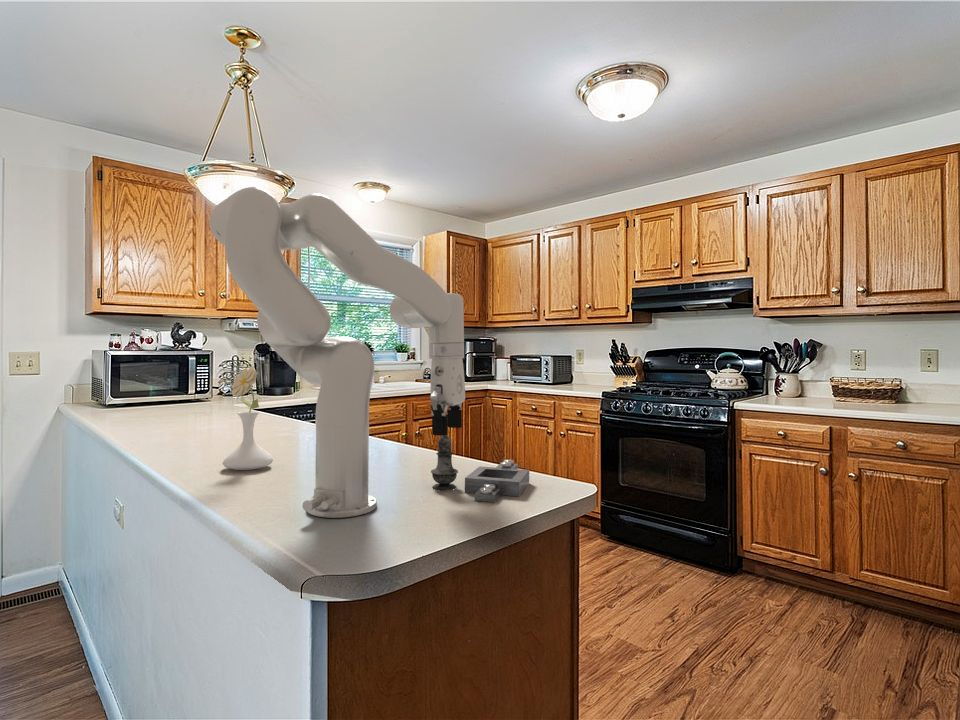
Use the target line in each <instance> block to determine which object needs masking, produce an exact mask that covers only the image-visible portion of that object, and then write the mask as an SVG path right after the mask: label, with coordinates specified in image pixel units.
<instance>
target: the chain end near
mask: <svg viewBox="0 0 960 720" xmlns="http://www.w3.org/2000/svg"><path fill="white" fill-rule="evenodd" d="M485 477H491V478H505V479H512V477H498V476H485ZM529 484H530V477H529V478H528V479H527V480H526V482H525V483H524V484H523V485H522V487H521V488H520V489H508V488H495V486H496V485H494V484H485V485H484V487H483V486H471V485H465V484H464V493H468V492H473V493H472V494H474V501H475V502H482V501H487V502H486V503H493V502H495V501H496V502H497V501H498V500H499V498H501V497H502V496H503V495H508V496H507V497H515V496H519V497H520V496H521V495H522V494H523V493H524V491H525V490H526V489H527V487H528V486H529ZM527 485H528V486H527ZM526 486H527V487H526ZM524 489H525V490H524ZM521 493H522V494H521ZM496 502H495V503H496Z"/></svg>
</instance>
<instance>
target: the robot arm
mask: <svg viewBox="0 0 960 720" xmlns="http://www.w3.org/2000/svg"><path fill="white" fill-rule="evenodd" d="M209 217H210V218H209V227H210V228H209V229H210V231H211V233H212V236H213V237H214V239H216V241H217V242H218V243H220V244H221V245H223V246H224V253H225V259H226V262H227V266H228V267H227V268H228V270H229V272H230V274H231V276H232V278H233V281H234V282H235V283H236V285H237V286H238V288H240V290H241V291H242V292H243V293H244V295H245V296H246V297H247V298H248V299H249V300H250V301H251V302H252V304H253V305H254V306H255V307H256V308H257V310H258V311H257V316H256V324H257V328H258V330H259V333H260V335H261V336H262V339H263V340H264V341H265V342H266V344H267V345H269V347H271V349H272V350H274V352H275V353H276V354H277V355H278V356H279V357H280V358H282V360H283V361H284V362H286V364H287V365H289V367H290V368H291V369H293V370H294V372H296V374H297V375H299V377H301V378H302V379H303V380H305V382H307V383H309V384H312V385H313V386H319V392H318V395H317V400H316V405H315V423H314V424H315V488H314V489H313V496H312V497H310V498H308V499H306V500H304V501H303V502H302V508H303V511H305V512H307V513H308V514H309V515H311V516H315V517H320V518H326V519H327V518H329V519H344V518H350V517H351V518H352V517H357V516H361V515H364V514H369V513H371V512H372V511H374V510H375V509H376V508H377V506H378V503H377V501H378V500H377V499H376V498H375V497H374V496H373V495H369V483H370V482H369V479H370V478H369V477H370V475H369V470H370V469H369V468H370V467H369V465H370V464H369V463H370V462H369V459H370V456H369V454H370V453H369V452H370V447H369V446H370V423H369V422H370V398H371V389H372V384H373V380H374V372H375V359H374V356H373V353H372V352H371V350H370V348H369V347H368V345H367V344H365V343H364V342H363V341H361V340H359V339H357V338H354V337H350V336H332V337H329V332H330V331H331V328H332V327H331V326H332V319H331V315H330V312H329V310H328V309H327V307H326V306H325V305H324V304H323V302H322V301H320V299H319V298H318V297H317V296H316V295H315V294H314V293H313V291H312V290H311V289H310V288H309V287H308V286H307V285H306V284H305V283H304V282H303V280H302V279H301V278H300V277H299V276H298V275H297V274H296V272H294V270H293V269H292V267H291V266H290V265H289V264H288V262H287V260H286V259H285V257H284V256H283V253H282V251H289V250H290V251H291V250H292V251H293V250H303V249H308V248H310V247H313V248H314V249H315V250H316V251H317V252H319V254H321V255H322V256H323V257H324V258H325V259H327V260H328V261H329V262H330V263H331V264H333V266H334V267H336V268H337V269H338V270H339V271H340V272H341V273H342V274H343V275H345V276H346V277H347V278H348V279H350V280H351V281H353V282H354V283H359V284H361V285H363V286H367V287H371V288H375V289H379V290H381V291H384V292H387V293H389V294H392V295H393V296H395V297H394V298H393V299H392V300H391V303H390V304H389V315H390V317H391V319H392V321H393V322H394V323H396V325H398V326H400V327H401V328H404V329H405V328H406V329H418V328H419V329H421V328H428V359H430V360H431V363H430V364H431V367H430V397H429V398H430V399H429V400H430V404H431V405H430V409H431V413H430V415H431V433H432V435H433V436H439V437H442V436H448V434H449V431H448V430H449V429H450V428H453V429H461V428H462V427H463V415H462V414H463V412H462V411H463V407H462V406H463V405H462V403H464V402H465V401H466V383H465V371H464V362H463V361H464V360H463V359H465V328H464V327H465V326H464V325H465V323H464V322H465V319H464V318H465V317H464V316H465V315H464V313H465V312H464V310H465V308H464V298H463V297H462V295H461V294H458V293H451V292H446V291H445V289H444V288H442V286H441V285H440V284H439V283H438V282H437V281H436V280H435V279H434V278H433V277H432V276H431V275H430V274H429V273H427V272H426V271H425V270H424V269H422V267H419V266H418V265H417V264H414V263H413V262H411V261H410V260H408V259H406V258H403V256H400V255H399V254H396V253H394V252H393V251H391V250H388V249H386V248H384V247H383V246H381V245H380V244H379V242H377V241H376V240H375V239H374V238H373V237H372V236H371V235H370V234H368V233H367V232H366V231H365V229H363V228H362V227H361V226H360V225H359V224H358V223H357V222H356V221H355V220H354V219H353V218H352V217H351V216H350V215H349V214H348V213H346V211H344V209H342V208H341V207H340V206H339V205H338V203H336V202H335V201H334V200H332V199H331V198H330V197H328V196H327V195H324V194H321V193H312V194H308V195H305V196H302V197H300V198H298V199H296V200H294V201H292V202H287V203H278V200H277V199H276V198H275V196H274V195H272V194H271V193H270V191H268V190H267V189H264V188H261V187H258V186H249V187H244V188H241V189H239V190H237V191H236V192H234V193H232V194H231V195H229V196H228V197H227V198H226V199H224V200H222V201H221V202H219V203H218V204H217V205H215V207H214V208H213V210H212V211H211V213H210V216H209ZM448 428H449V429H448Z"/></svg>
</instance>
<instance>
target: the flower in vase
mask: <svg viewBox="0 0 960 720" xmlns="http://www.w3.org/2000/svg"><path fill="white" fill-rule="evenodd" d="M257 375H258V372H257V370H256V369H255V367H252V366H250V367H249V368H247V367H244V369H243V370H241V371H240V373H238V374H236V378H235V379H234V381H233V384H232V385H231V388H232V390H231V395H233V396H234V397H235V398H237V397H238V398H239V397H241V398H240V399H241V400H240V401H241V403H243V404H244V405H246V406H247V407H249V410H244V411H238V412H237V415H238V416H239V418H240V420H241V422H242V430H243V431H242V433H243V434H242V435H243V436H242V441H241V444H240V445H238V447H236V448H235V449H234V450H232V452H230V453H229V454H228V455H227V456H226V457H225V458H224V459H223V462H222V465H223V467H224V468H225V469H226V468H227V469H229V470H233V471H234V470H235V471H250V470H251V471H252V470H257V469H263V468H265V467H267V466H270V465H272V463H273V461H274V459H273V458H274V457H273V456H272V455H271V454H270V453H269V452H268V451H266V450H265V449H264V448H262V447H261V446H260V445H258V444H257V443H256V441H255V440H254V439H255V438H254V428H255V422H256V419H257V417H258V415H259V414H260V411H257V410H253V409H257V408H259V407H260V405H259V399H258V398H255V395H254V392H253V389H252V387H253V384H256V380H257ZM249 391H250V393H251V396H252V402H250V401H248V400H246V399H245V398H244V397H243V396H245V394H246V393H248V392H249Z"/></svg>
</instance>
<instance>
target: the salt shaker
mask: <svg viewBox="0 0 960 720" xmlns="http://www.w3.org/2000/svg"><path fill="white" fill-rule="evenodd" d="M437 443H438V444H437V445H438V446H437V452H436V454H435V455H437V464H436V467H435V468H433V469H431V470H430V473H431V475H432V479H433V481H435V484H434V485H432V487H431V489H432V488H433V489H432V490H434V489H435V490H434V491H438V490H440V491H439V492H448V491H447V490H450V491H453V489H455V488H456V489H457V488H458V486H457V485H455V484H453V482H455V480H457V474H458V473H459V470H458V469H456V468H454V467H453V463H452V461H453V458H452V457H453V454H454V452H453V451H452V438H451V437H449V436H448V435H446V436H439V438H438V441H437ZM456 489H455V490H456Z"/></svg>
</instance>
